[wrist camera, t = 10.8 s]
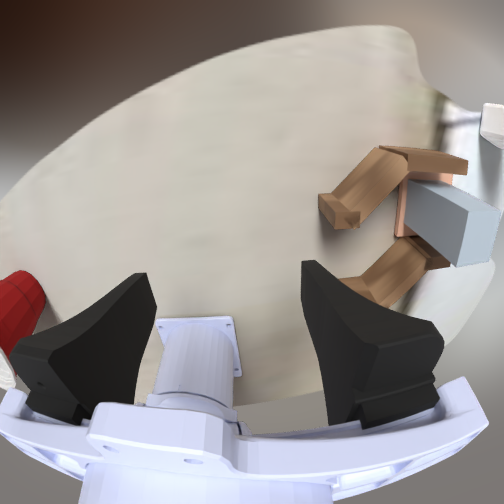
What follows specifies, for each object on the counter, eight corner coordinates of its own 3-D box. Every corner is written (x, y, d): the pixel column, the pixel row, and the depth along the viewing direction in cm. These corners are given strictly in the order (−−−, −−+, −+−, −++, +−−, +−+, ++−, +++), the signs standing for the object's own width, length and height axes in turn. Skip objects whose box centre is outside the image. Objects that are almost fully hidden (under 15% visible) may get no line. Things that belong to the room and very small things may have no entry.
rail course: (417, 278, 25) (438, 303, 21) (315, 291, 25) (326, 323, 21) (436, 150, 19) (468, 160, 15) (317, 144, 19) (336, 150, 15)
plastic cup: (54, 259, 23) (-13, 332, 12) (69, 332, 28) (29, 405, 17) (-6, 241, 22) (-66, 294, 11) (12, 309, 26) (-30, 366, 16)
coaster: (440, 230, 23) (444, 233, 22) (394, 234, 23) (397, 236, 22) (449, 166, 20) (453, 168, 19) (400, 163, 20) (404, 164, 19)
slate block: (435, 221, 22) (488, 261, 15) (403, 222, 22) (455, 267, 15) (441, 180, 20) (501, 211, 13) (408, 179, 20) (468, 211, 13)
